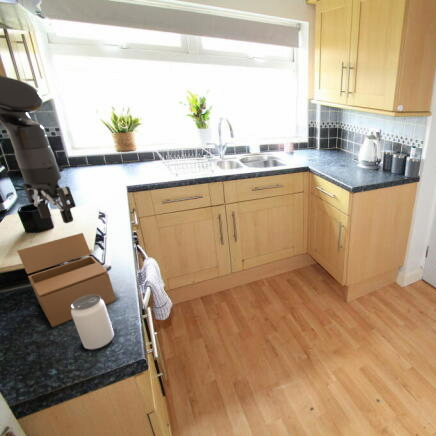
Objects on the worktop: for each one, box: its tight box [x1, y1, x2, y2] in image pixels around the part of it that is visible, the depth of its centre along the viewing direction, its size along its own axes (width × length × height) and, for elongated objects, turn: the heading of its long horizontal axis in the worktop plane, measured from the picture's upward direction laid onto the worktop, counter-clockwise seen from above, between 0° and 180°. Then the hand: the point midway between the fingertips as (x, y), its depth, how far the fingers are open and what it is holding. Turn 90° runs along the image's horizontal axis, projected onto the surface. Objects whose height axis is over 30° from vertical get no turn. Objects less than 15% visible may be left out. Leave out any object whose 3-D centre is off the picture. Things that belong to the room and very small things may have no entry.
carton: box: [27, 255, 117, 328], centre depth 90 cm, size 15×14×10 cm
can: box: [71, 295, 115, 350], centre depth 77 cm, size 6×6×12 cm
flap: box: [16, 232, 92, 275], centre depth 92 cm, size 15×7×1 cm
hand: (57, 219), depth 90 cm, fingers open, 8 cm apart
